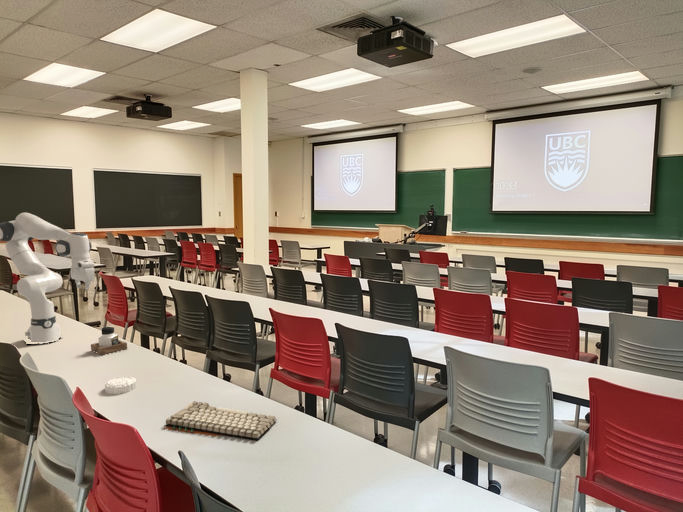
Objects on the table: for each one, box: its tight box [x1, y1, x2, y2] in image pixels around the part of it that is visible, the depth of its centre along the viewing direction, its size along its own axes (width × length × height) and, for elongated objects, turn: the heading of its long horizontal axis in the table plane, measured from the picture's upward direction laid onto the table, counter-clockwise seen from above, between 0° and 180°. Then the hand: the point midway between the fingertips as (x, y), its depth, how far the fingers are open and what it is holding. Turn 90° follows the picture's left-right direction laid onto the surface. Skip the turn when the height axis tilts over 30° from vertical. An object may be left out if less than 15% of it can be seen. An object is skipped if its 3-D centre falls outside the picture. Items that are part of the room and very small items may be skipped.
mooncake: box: [104, 376, 137, 395], centre depth 199 cm, size 12×12×4 cm
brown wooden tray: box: [90, 339, 128, 356], centre depth 253 cm, size 13×13×4 cm
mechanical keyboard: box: [163, 400, 278, 442], centre depth 166 cm, size 38×19×3 cm, turn 73°
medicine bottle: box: [98, 325, 119, 347], centre depth 252 cm, size 7×7×12 cm
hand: (83, 288), depth 252 cm, fingers open, 8 cm apart
